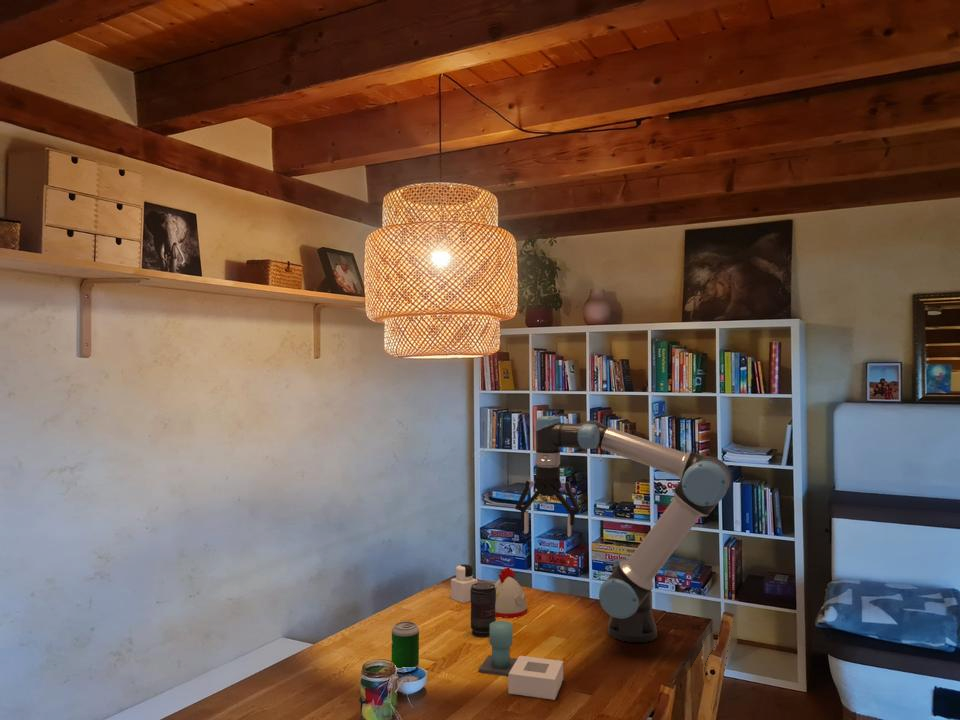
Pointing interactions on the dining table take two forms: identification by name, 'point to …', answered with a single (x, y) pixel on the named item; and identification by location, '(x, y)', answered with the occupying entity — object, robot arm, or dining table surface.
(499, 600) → the kitchen timer
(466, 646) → the dining table surface
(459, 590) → the medicine bottle
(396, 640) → the soda can
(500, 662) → the capped plug
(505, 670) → the slate mat
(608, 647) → the dining table surface
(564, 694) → the dining table surface
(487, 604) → the camera lens
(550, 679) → the bore block
